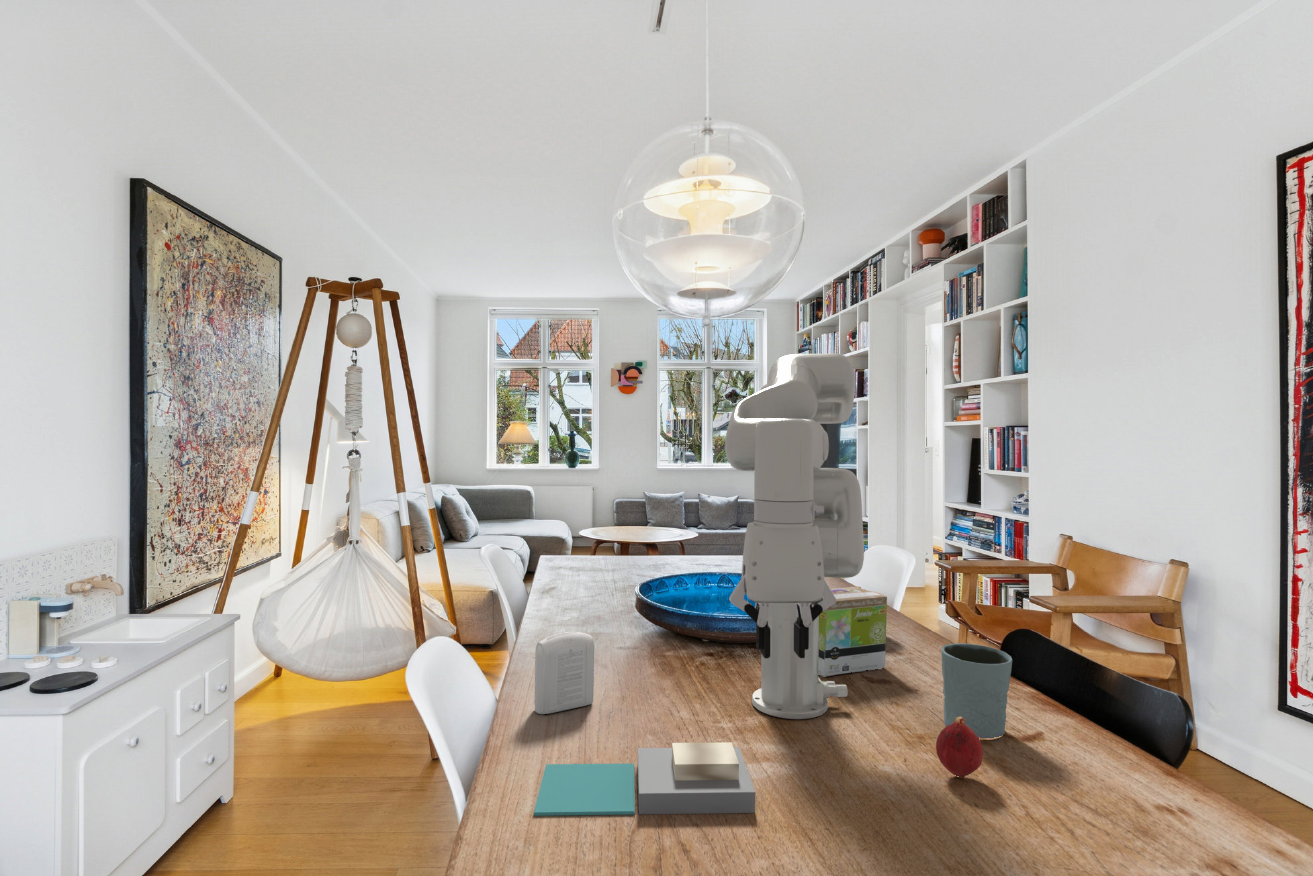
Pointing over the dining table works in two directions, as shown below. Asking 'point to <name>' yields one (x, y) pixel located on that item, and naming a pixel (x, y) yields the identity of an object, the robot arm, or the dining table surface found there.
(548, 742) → the dining table surface
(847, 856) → the dining table surface
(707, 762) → the birch tile
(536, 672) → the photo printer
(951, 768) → the onion
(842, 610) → the tea box
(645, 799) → the grey flat slab
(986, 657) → the blue ceramic planter
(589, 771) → the teal mat
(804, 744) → the dining table surface
